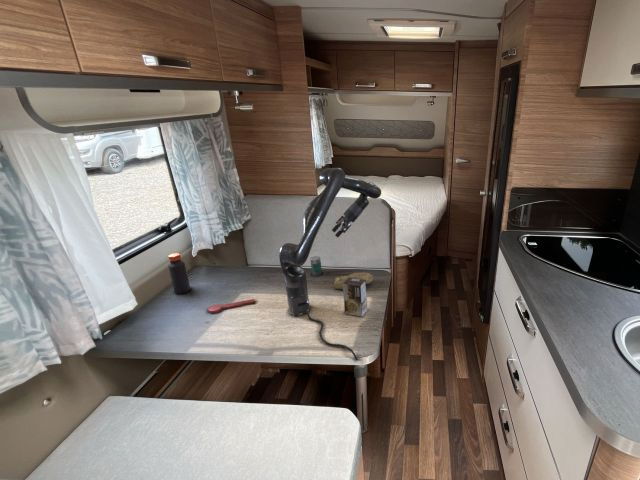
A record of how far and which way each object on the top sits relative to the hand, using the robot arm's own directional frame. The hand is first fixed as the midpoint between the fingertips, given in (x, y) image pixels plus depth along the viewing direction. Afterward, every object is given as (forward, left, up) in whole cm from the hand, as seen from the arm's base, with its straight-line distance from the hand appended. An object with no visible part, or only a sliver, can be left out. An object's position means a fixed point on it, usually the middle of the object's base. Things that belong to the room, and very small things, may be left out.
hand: (334, 233), depth 189 cm
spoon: (-18, +54, -23) cm, 62 cm away
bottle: (+8, +78, -23) cm, 81 cm away
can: (0, +12, -23) cm, 26 cm away
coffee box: (-46, +2, -23) cm, 52 cm away
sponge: (-22, -4, -23) cm, 32 cm away
